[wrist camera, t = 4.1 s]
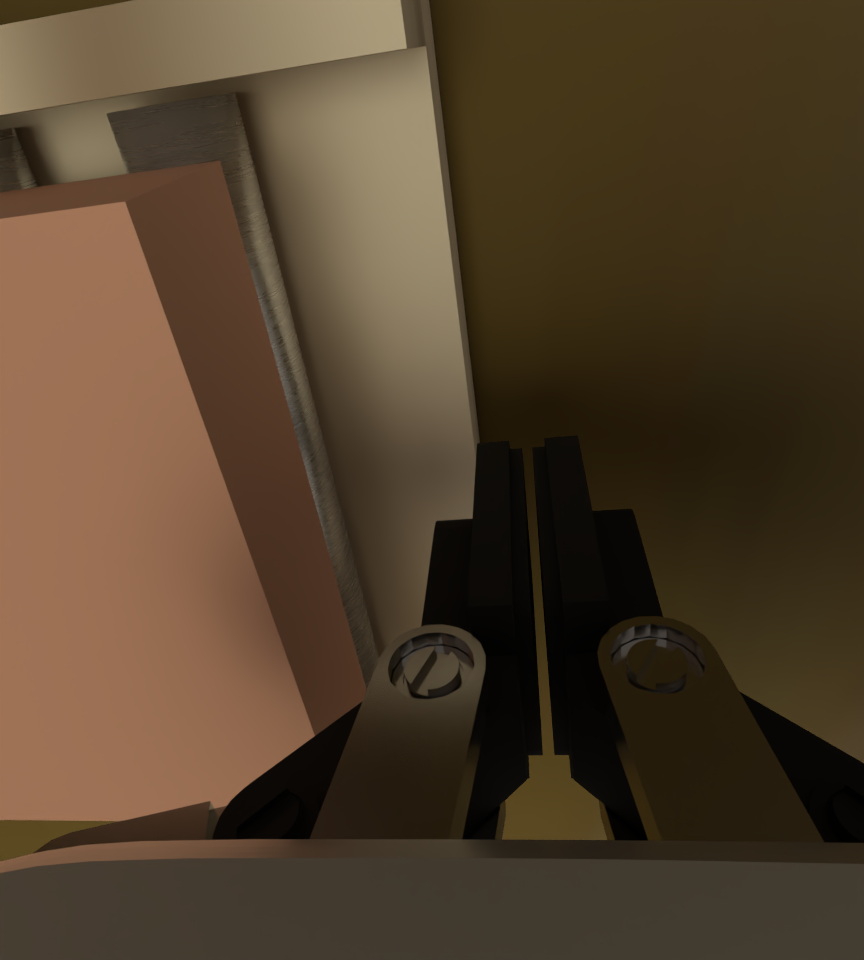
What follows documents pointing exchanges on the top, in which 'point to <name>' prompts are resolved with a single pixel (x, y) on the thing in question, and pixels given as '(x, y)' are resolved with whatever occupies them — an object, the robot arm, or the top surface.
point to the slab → (150, 510)
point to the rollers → (221, 137)
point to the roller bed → (307, 225)
